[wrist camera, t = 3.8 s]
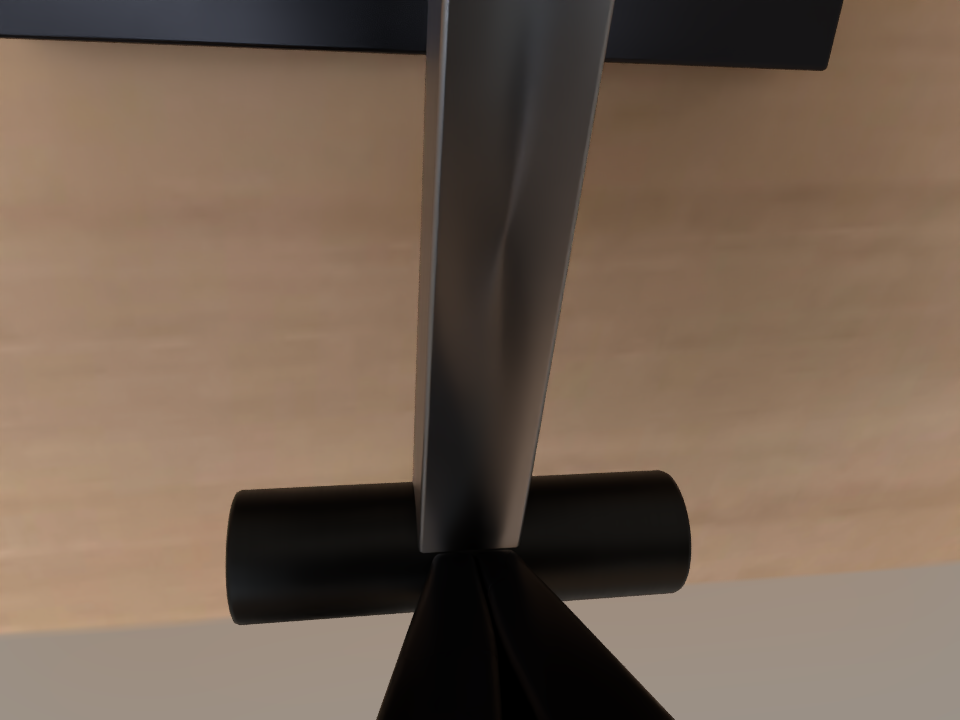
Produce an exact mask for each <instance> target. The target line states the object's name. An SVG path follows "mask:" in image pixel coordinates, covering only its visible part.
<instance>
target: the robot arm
mask: <svg viewBox="0 0 960 720" xmlns="http://www.w3.org/2000/svg"><path fill="white" fill-rule="evenodd" d="M376 720H675V719H674V718H673V717H672V716H671V715H670V714H669V713H668V712H667V711H666V710H665V709H664V708H663V707H662V706H661V705H660V704H659V703H658V701H657V700H656V699H655V698H654V697H653V696H652V695H651V694H650V693H649V692H648V691H647V690H646V689H645V688H644V687H643V686H642V685H641V684H640V683H639V681H637V679H636V678H635V677H634V676H633V675H632V674H631V673H630V672H629V671H628V670H627V669H626V668H625V667H624V666H623V665H622V664H621V663H620V662H619V661H618V659H617V658H616V657H615V656H614V655H613V654H612V653H611V652H610V651H609V650H608V649H607V648H606V647H605V646H604V645H603V644H602V643H601V642H600V640H599V639H597V637H596V636H595V635H594V634H593V633H592V632H591V631H590V630H589V629H588V628H587V627H586V626H585V625H584V624H583V623H582V622H581V621H580V619H579V618H578V617H577V616H576V615H575V614H574V613H573V612H572V611H571V610H570V609H569V608H568V607H567V606H566V605H565V604H564V603H563V602H562V601H561V599H560V598H559V597H558V596H557V595H556V594H555V593H554V592H553V591H552V590H551V589H550V588H549V587H548V586H547V585H546V584H545V583H544V582H543V581H542V580H541V578H540V577H539V576H538V575H537V574H536V573H535V572H534V571H533V570H532V569H531V568H530V567H529V566H528V565H527V564H526V563H525V562H524V561H523V560H522V558H521V557H520V556H519V555H518V554H517V553H515V552H514V551H512V550H494V551H481V552H478V553H477V554H476V555H475V557H474V556H473V555H472V554H471V553H469V552H462V553H446V554H438V555H436V556H435V557H434V559H433V561H432V564H431V566H430V569H429V572H428V575H427V578H426V581H425V583H424V586H423V589H422V592H421V595H420V598H419V600H418V603H417V606H416V609H415V612H414V615H413V618H412V620H411V623H410V626H409V629H408V631H407V634H406V637H405V640H404V643H403V646H402V648H401V651H400V654H399V657H398V660H397V663H396V665H395V668H394V671H393V674H392V677H391V679H390V683H389V685H388V688H387V691H386V694H385V696H384V699H383V702H382V705H381V708H380V711H379V713H378V716H377V719H376Z"/></svg>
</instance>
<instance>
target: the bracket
mask: <svg viewBox="0 0 960 720" xmlns="http://www.w3.org/2000/svg"><path fill="white" fill-rule="evenodd" d="M842 4H843V0H615V2H614V8H613V14H612V20H611V25H610V31H609V37H608V43H607V48H606V54H605V60H604V62H608V63H633V64H658V65H683V66H708V67H733V68H758V69H783V70H808V71H823V70H825V69H826V68H827V66H828V62H829V58H830V54H831V50H832V45H833V41H834V37H835V33H836V29H837V25H838V21H839V17H840V13H841V9H842ZM427 16H428V0H0V38H6V39H32V40H57V41H82V42H107V43H132V44H157V45H182V46H207V47H232V48H257V49H282V50H307V51H332V52H357V53H382V54H407V55H426V47H427Z"/></svg>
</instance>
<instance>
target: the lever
mask: <svg viewBox="0 0 960 720" xmlns="http://www.w3.org/2000/svg"><path fill="white" fill-rule="evenodd" d="M614 2H615V0H428V16H427V47H426V78H425V109H424V140H423V171H422V202H421V233H420V264H419V295H418V326H417V357H416V388H415V419H414V450H413V481H412V482H401V483H380V484H359V485H338V486H317V487H296V488H274V489H253V490H241V491H239V492H237V493H236V495H235V497H234V499H233V502H232V505H231V509H230V514H229V520H228V528H227V540H226V589H227V599H228V605H229V610H230V614H231V617H232V619H233V621H234V623H236V624H238V625H248V624H260V623H261V624H262V623H275V622H288V621H302V620H314V619H329V618H343V617H356V616H369V615H382V614H396V613H410V612H415V609H416V606H417V603H418V600H419V598H420V595H421V592H422V589H423V586H424V583H425V581H426V578H427V575H428V572H429V569H430V566H431V564H432V561H433V559H434V557H435V556H436V555H438V554H446V553H462V552H469V553H471V554H472V555H473V556H474V557H475V555H476V554H477V553H478V552H481V551H494V550H512V551H514V552H515V553H517V554H518V555H519V556H520V557H521V558H522V560H523V561H524V562H525V563H526V564H527V565H528V566H529V567H530V568H531V569H532V570H533V571H534V572H535V573H536V574H537V575H538V576H539V577H540V578H541V580H542V581H543V582H544V583H545V584H546V585H547V586H548V587H549V588H550V589H551V590H552V591H553V592H554V593H555V594H556V595H557V596H558V597H559V598H560V599H561V601H572V600H585V599H599V598H612V597H626V596H639V595H652V594H666V593H674V592H676V591H678V590H679V589H681V588H682V586H683V585H684V584H685V581H686V579H687V576H688V573H689V569H690V562H691V533H690V525H689V519H688V514H687V510H686V506H685V503H684V500H683V497H682V494H681V492H680V490H679V488H678V486H677V484H676V482H675V481H674V480H673V478H672V477H671V476H670V475H669V474H667V473H665V472H663V471H660V470H653V471H632V472H611V473H590V474H569V475H548V476H532V472H533V466H534V461H535V455H536V449H537V443H538V438H539V432H540V426H541V421H542V415H543V409H544V403H545V398H546V392H547V386H548V380H549V375H550V369H551V363H552V358H553V352H554V346H555V340H556V335H557V329H558V323H559V317H560V312H561V306H562V300H563V295H564V289H565V283H566V277H567V272H568V266H569V260H570V254H571V249H572V243H573V237H574V232H575V226H576V220H577V214H578V209H579V203H580V197H581V191H582V186H583V180H584V174H585V169H586V163H587V157H588V151H589V146H590V140H591V134H592V128H593V123H594V117H595V111H596V106H597V100H598V94H599V88H600V83H601V77H602V71H603V65H604V60H605V54H606V48H607V43H608V37H609V31H610V25H611V20H612V14H613V8H614Z"/></svg>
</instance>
